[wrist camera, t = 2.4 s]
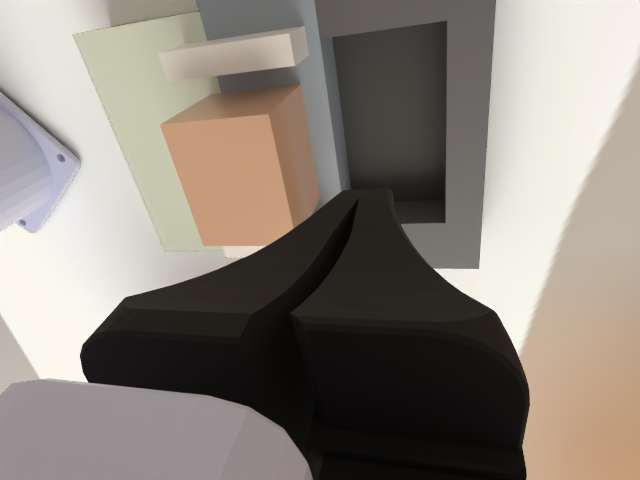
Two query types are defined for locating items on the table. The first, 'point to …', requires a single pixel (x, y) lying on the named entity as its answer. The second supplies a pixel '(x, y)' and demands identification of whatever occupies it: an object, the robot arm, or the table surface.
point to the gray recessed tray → (388, 104)
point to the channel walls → (236, 67)
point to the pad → (149, 112)
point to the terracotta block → (245, 164)
